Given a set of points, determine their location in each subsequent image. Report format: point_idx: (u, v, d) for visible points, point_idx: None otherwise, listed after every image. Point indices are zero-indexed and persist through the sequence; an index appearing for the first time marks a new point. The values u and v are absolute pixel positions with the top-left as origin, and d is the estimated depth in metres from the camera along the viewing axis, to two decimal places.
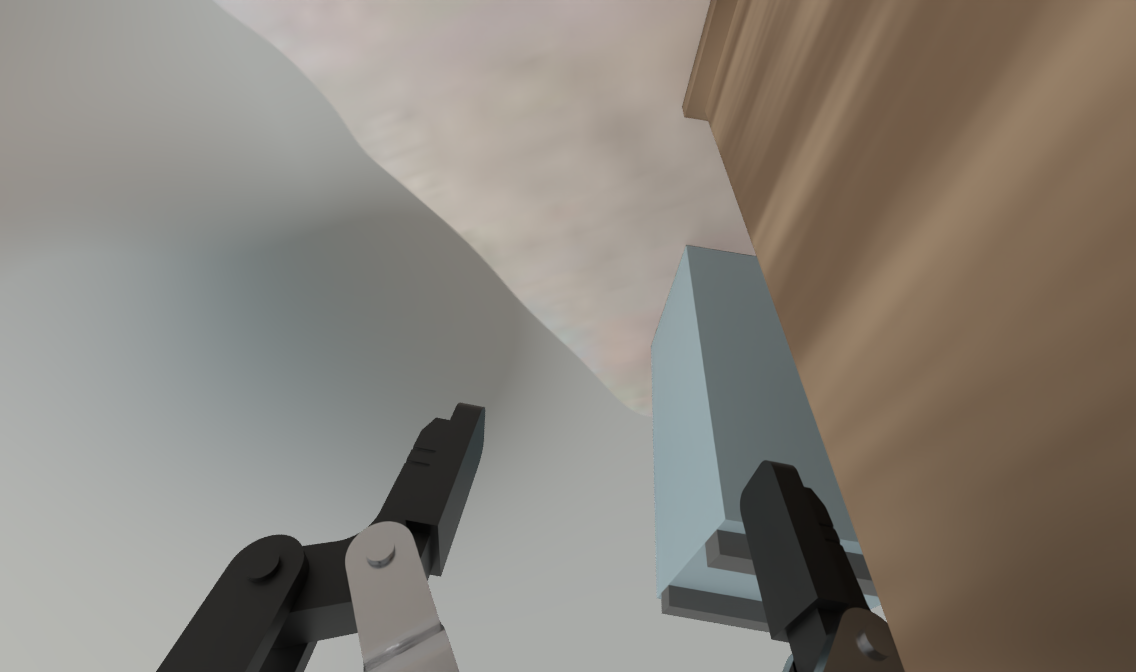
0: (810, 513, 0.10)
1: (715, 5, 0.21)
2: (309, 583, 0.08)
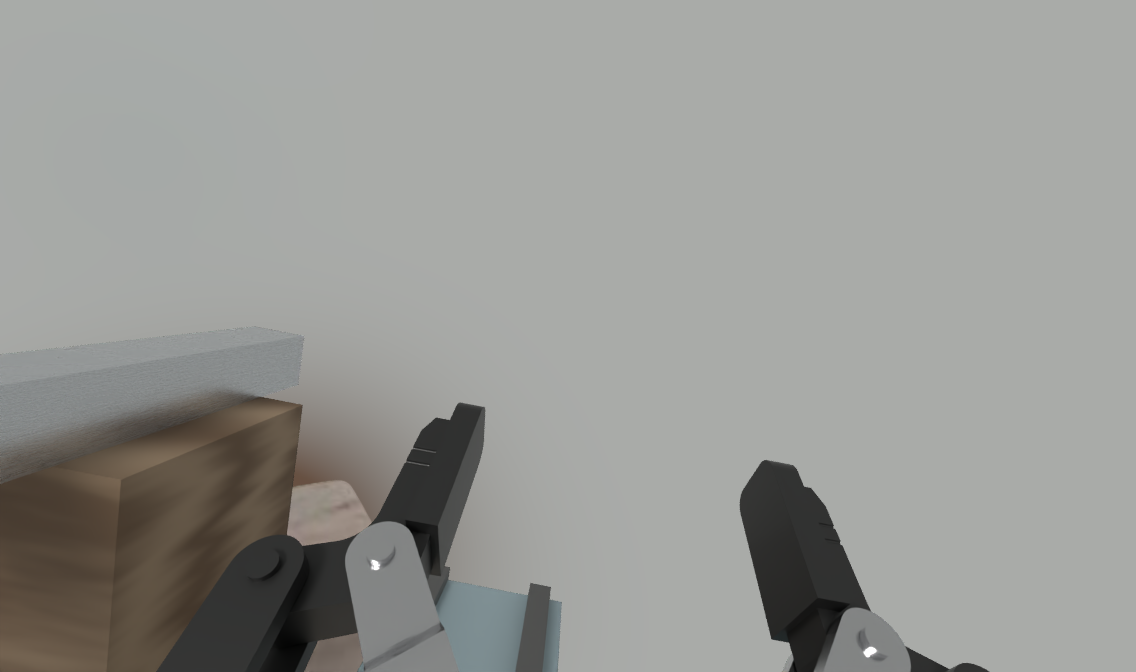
0: (810, 513, 0.10)
1: None
2: (309, 583, 0.08)
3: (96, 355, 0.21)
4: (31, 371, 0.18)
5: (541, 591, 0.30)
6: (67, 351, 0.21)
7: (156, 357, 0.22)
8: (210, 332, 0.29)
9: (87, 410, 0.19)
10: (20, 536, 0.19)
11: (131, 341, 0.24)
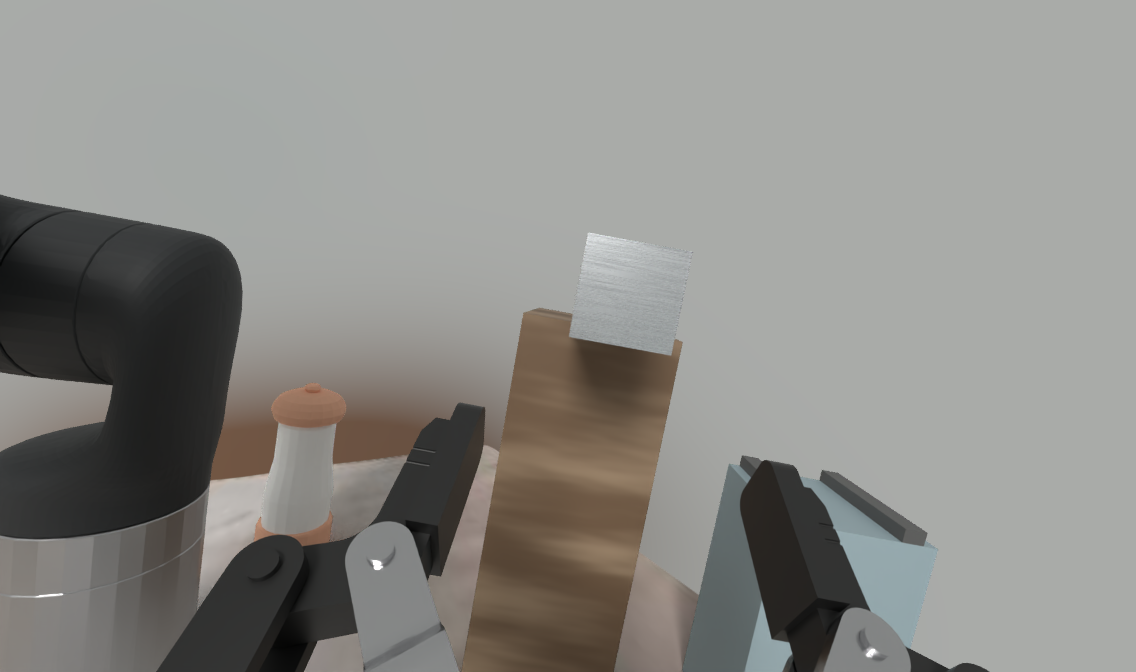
0: (810, 513, 0.10)
1: None
2: (309, 583, 0.08)
3: None
4: None
5: (835, 474, 0.39)
6: None
7: None
8: None
9: None
10: (604, 384, 0.27)
11: None
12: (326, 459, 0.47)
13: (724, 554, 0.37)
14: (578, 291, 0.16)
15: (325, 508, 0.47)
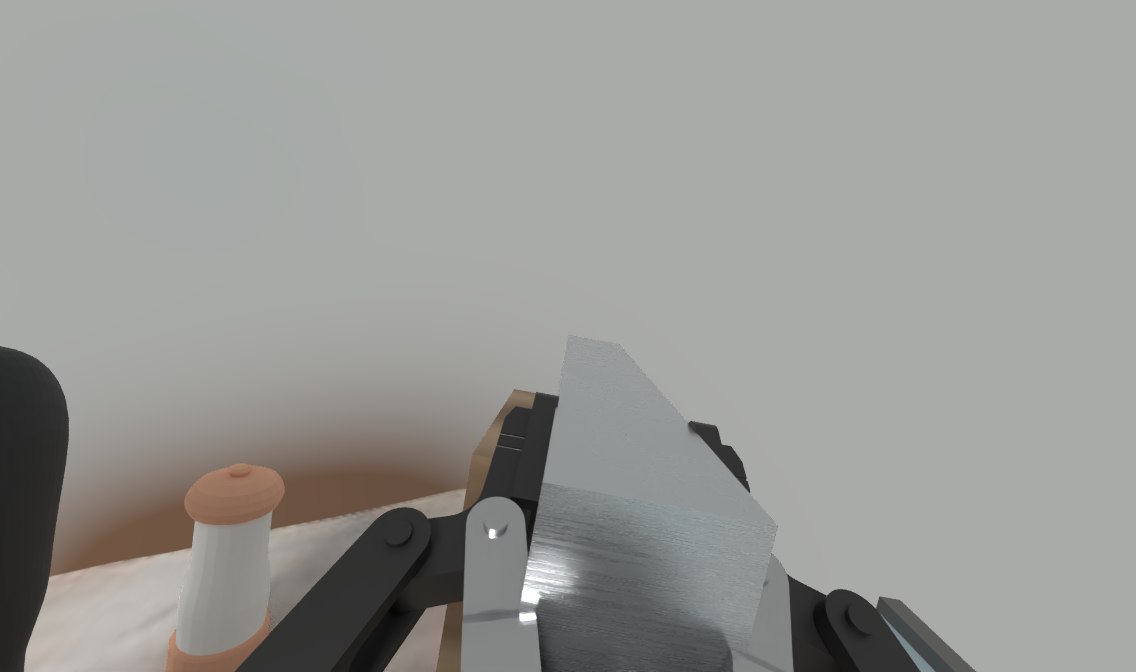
0: None
1: None
2: (428, 563, 0.08)
3: (604, 368, 0.20)
4: (633, 386, 0.17)
5: (898, 605, 0.30)
6: (579, 364, 0.20)
7: (634, 369, 0.22)
8: (571, 341, 0.29)
9: None
10: None
11: (570, 352, 0.23)
12: (257, 556, 0.38)
13: None
14: (522, 604, 0.07)
15: (257, 615, 0.39)
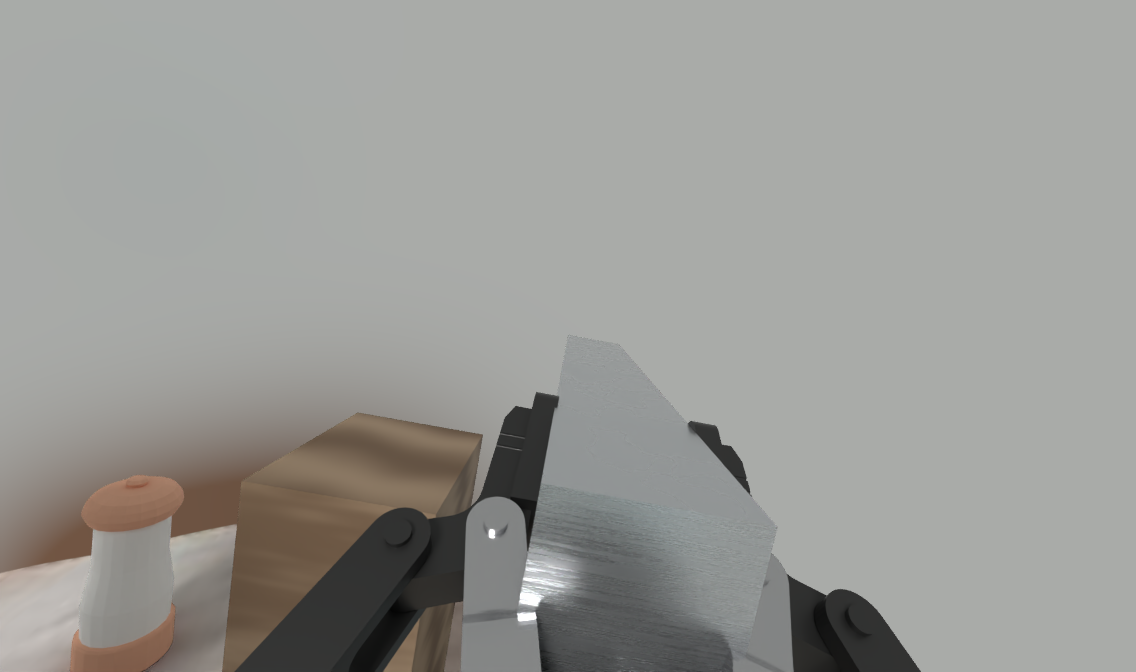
0: None
1: None
2: (427, 563, 0.08)
3: (604, 368, 0.20)
4: (633, 386, 0.17)
5: None
6: (578, 364, 0.20)
7: (633, 369, 0.22)
8: (570, 341, 0.29)
9: None
10: None
11: (569, 352, 0.23)
12: (155, 559, 0.42)
13: None
14: (521, 606, 0.07)
15: (157, 611, 0.43)
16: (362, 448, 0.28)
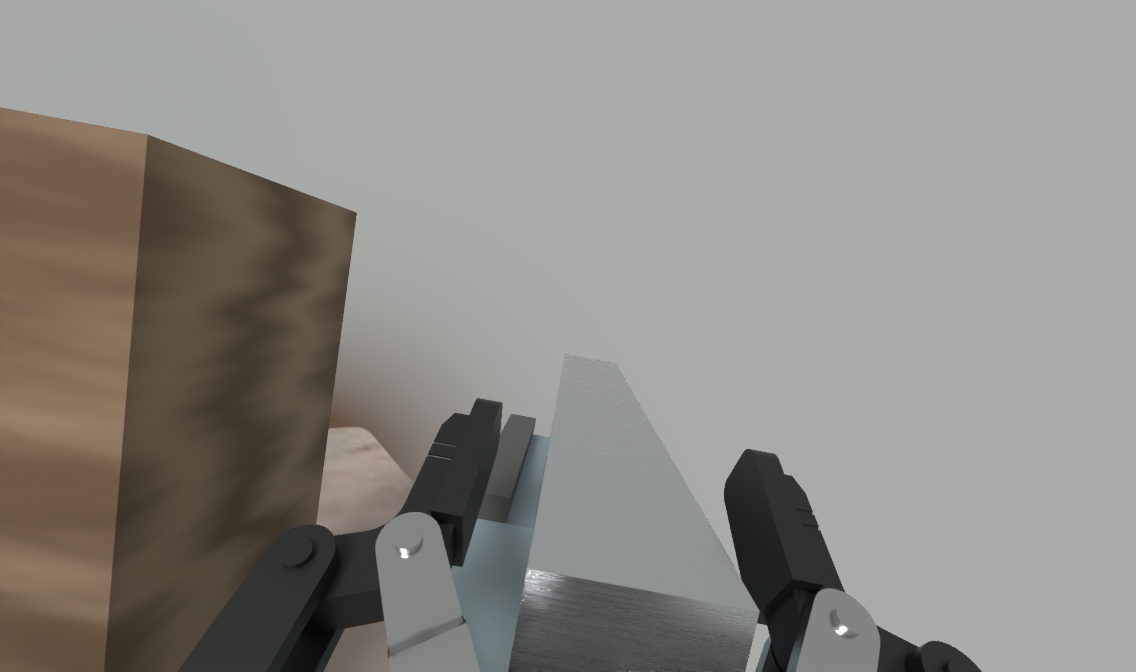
0: (789, 499, 0.10)
1: None
2: (339, 574, 0.08)
3: (598, 398, 0.20)
4: (626, 422, 0.17)
5: None
6: (573, 395, 0.20)
7: (628, 398, 0.22)
8: (567, 363, 0.29)
9: None
10: None
11: (565, 379, 0.24)
12: None
13: None
14: None
15: None
16: None
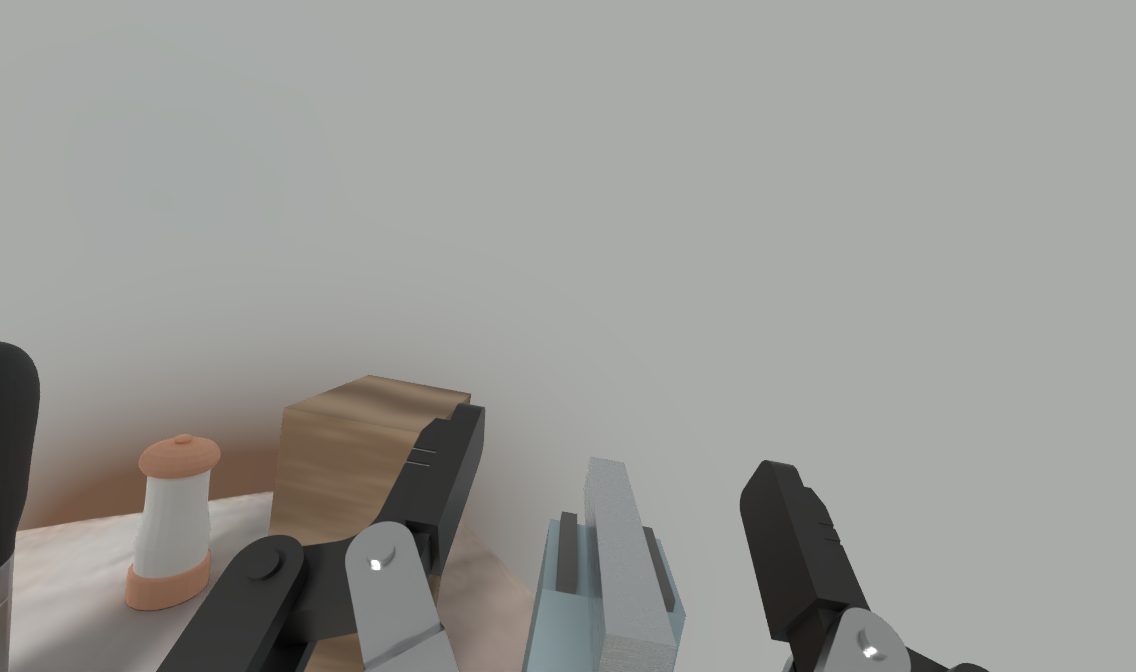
0: (810, 513, 0.10)
1: None
2: (309, 583, 0.08)
3: (617, 516, 0.37)
4: (633, 540, 0.34)
5: (646, 530, 0.41)
6: (603, 515, 0.37)
7: (633, 512, 0.38)
8: (593, 472, 0.45)
9: None
10: (360, 471, 0.29)
11: (596, 495, 0.40)
12: (197, 505, 0.50)
13: (535, 606, 0.40)
14: (599, 669, 0.24)
15: (197, 551, 0.50)
16: (373, 395, 0.35)
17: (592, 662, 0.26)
